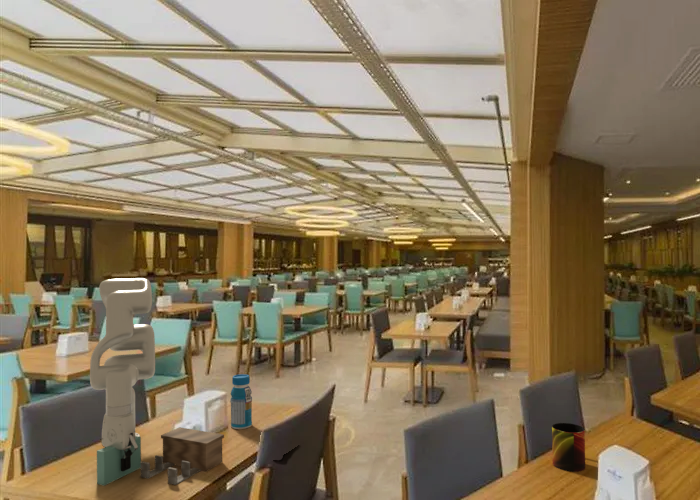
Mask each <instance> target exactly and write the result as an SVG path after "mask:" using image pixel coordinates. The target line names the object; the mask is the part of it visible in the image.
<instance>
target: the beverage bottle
mask: <svg viewBox="0 0 700 500" xmlns="http://www.w3.org/2000/svg"><path fill="white" fill-rule="evenodd" d="M250 380H251V379H250V375H249V374H244V373H238V374H235V375H232V388H231V391H230V395H231V397H230V401H229V402H230V427H231V428H232V429H235V430H244V429H249V428H250V427H251V426H253V422H252V420H253V419H252V418H253V417H252V410H253V409H252V405H253V404H252V402H253V397H252V390H251V389H252V388H251V387H250Z"/></svg>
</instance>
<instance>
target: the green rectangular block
mask: <svg viewBox="0 0 700 500" xmlns="http://www.w3.org/2000/svg"><path fill="white" fill-rule="evenodd" d="M135 442H136V444H137V446H138V449H137V450H135V451H134V452H133V454H132V456H131V468H130V469H128V470H125V471H121V458H123V457H122V452H121V450H118V449H116V447H111V446H107V447H103V448H99V449H98V450H96V485H100V486H106V485H108V484H111V483H112V482H115V481H117V480H118V479H121V478H123V477H125V476H126V475H130V474H131V473H133V472H135V471H137V470H139V469H140V470H141V462H142V451H141V450H142V448H141V447H142V446H141V445H142V438H141V436H140V437H138V436H136V439H135ZM125 450H126V452H127V451H128V450H127V449H125Z"/></svg>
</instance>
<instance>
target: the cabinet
mask: <svg viewBox="0 0 700 500" xmlns="http://www.w3.org/2000/svg"><path fill="white" fill-rule="evenodd" d="M224 438H225V435H224V434H223V433H222V434H221V433H218V432H217V433H216V432H210V431H203V430H199V429H191V428H186V427H180V426H179V427H177V428H175V429H172V430H170V431H168V432H166V433H163V434H161V435H160V439H162V455H157V454H156V455H154V469H151V463H150V462H148V461H147V462H146V461H141V468H140V478H144V479H150V478H152V477H154V476H157V475H158V474H160V473H161V472H163V471H165V470H167V484H170V485H174V486H175V485H176V486H177V485H178V484H180V483H182V482H183V481H185V480H187V479H189V478H191V477H193V476H194V475H196V474H197V473H199V472H201V471H203V472H208V471H209V470H211V469H214V468H215V467H217V466H218V465H221V464H222V463H223V439H224ZM173 466H176V467H177V466H178V467H181V474H180V475H178V468H175V467H173Z"/></svg>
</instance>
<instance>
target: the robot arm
mask: <svg viewBox="0 0 700 500" xmlns="http://www.w3.org/2000/svg"><path fill="white" fill-rule="evenodd" d="M99 295H100V299H101V300H102V303H103V305H104V307H105V313H106V314H105V335H104V337H103V338H102V339H101V340H100V341H99V342H98V343H97V344H96V345H95V347H94V349H93V351H92V353H91V356H90V368H89V382H90V383H89V384H90V386H91V388H92V389H93V390H96V391H102V390H105V414H104V416H103V421H102V426H101V428H102V429H101V445H102V446H103V448H105V447H107V446H111V447H116V449H118V450H121V452H122V457H123V458H121V471H125V470H128V469H130V468H131V456H132V454H133V452H134V451H135V450H137V449H138V446H137V444H136V442H135V439H136V436H138V437H141V436H140V433H138V432H136V392H135V389H134V388H133V387H134V386H135V384H136V383H137V382H138V381H139V380H147V379H151V378H153V377H154V375H155V372H156V348H155V347H156V345H155V344H156V343H155V340H156V338H155V331H154V328H153V327H152V326H151V325H150V324H147V323H146V324H145V323H140V324H139V323H138V324H134V315H142V314H147V313H149V312H151V309H152V305H153V294H152V284H151V282H150V280H149V279H148V278H144V277H135V278H134V277H133V278H132V277H131V278H122V277H121V278H111V279H110V278H109V279H105V280H103V281H101V282H100V284H99ZM109 349H110V350H111V351H114V352H128V351H129V352H130V351H141V352H142V353H128V354H117V355H113V356H110V357H108V358H106V360H105V362H104V364H103V365H100V363H101V358H102V356H103V355H104V354H105V352H107V350H109ZM125 449H127V450H128V451H127V452H126V450H125Z"/></svg>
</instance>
